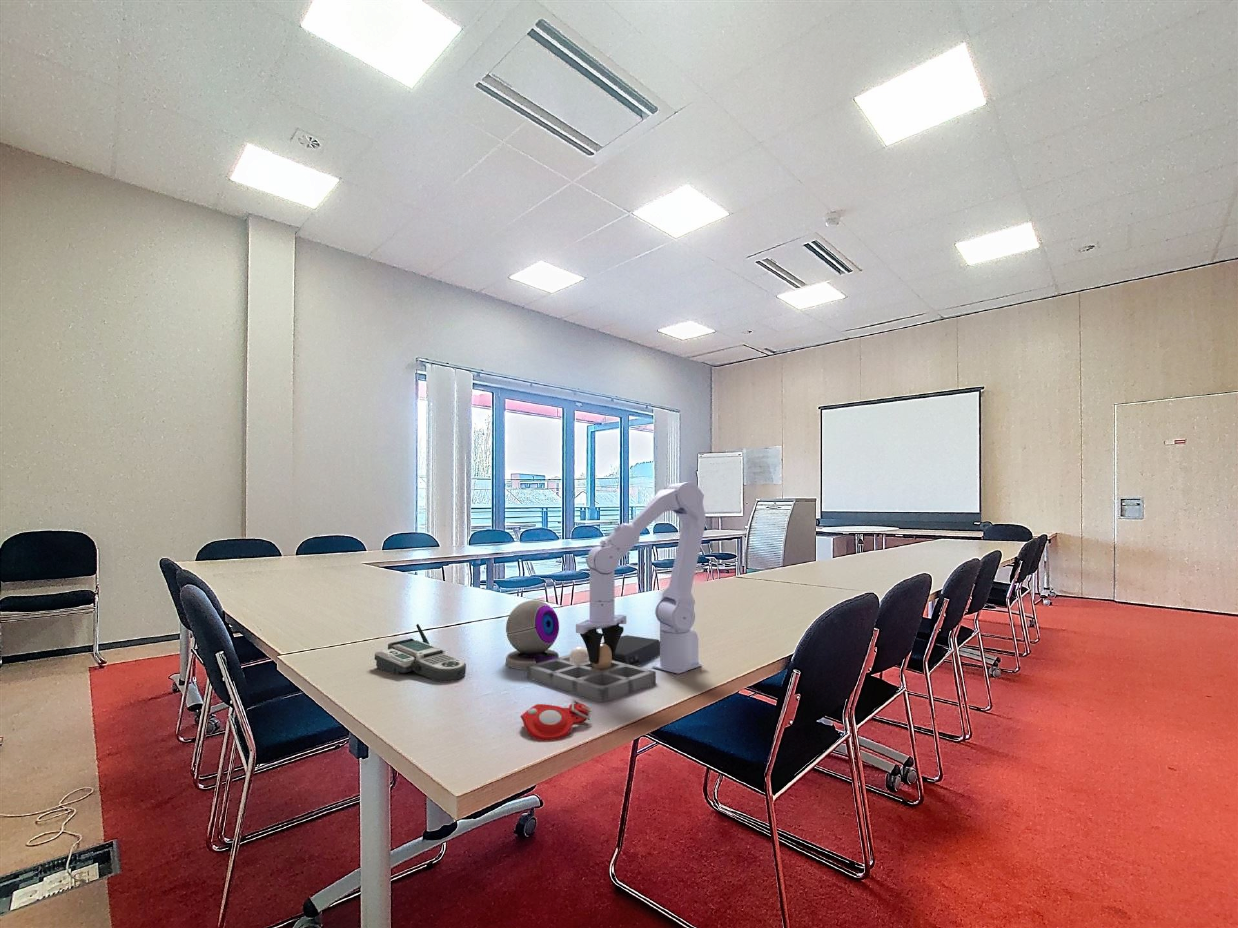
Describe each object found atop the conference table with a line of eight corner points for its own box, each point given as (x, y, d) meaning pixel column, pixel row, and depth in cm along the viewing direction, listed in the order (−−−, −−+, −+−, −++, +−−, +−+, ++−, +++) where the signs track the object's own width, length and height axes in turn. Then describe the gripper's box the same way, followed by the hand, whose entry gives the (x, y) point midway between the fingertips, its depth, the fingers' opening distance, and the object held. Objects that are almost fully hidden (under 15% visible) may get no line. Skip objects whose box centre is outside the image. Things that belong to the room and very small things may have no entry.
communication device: (433, 690, 123) (434, 648, 124) (371, 669, 137) (372, 631, 138) (477, 676, 133) (478, 637, 133) (415, 658, 147) (416, 622, 147)
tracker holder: (555, 740, 94) (509, 714, 99) (553, 763, 95) (508, 735, 100) (597, 701, 104) (554, 679, 109) (595, 722, 105) (552, 699, 110)
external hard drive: (583, 664, 142) (583, 647, 142) (623, 647, 158) (623, 632, 159) (630, 672, 135) (630, 654, 135) (666, 653, 152) (666, 638, 152)
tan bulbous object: (601, 664, 134) (602, 640, 134) (615, 667, 131) (615, 643, 131) (588, 668, 131) (588, 643, 131) (602, 672, 128) (602, 647, 128)
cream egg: (579, 666, 139) (579, 643, 139) (592, 669, 136) (592, 646, 136) (565, 670, 136) (566, 646, 136) (578, 674, 133) (578, 650, 133)
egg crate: (526, 677, 130) (526, 665, 130) (579, 662, 142) (580, 651, 142) (602, 702, 114) (602, 689, 114) (655, 683, 126) (655, 671, 126)
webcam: (536, 672, 134) (536, 607, 135) (494, 664, 140) (495, 602, 141) (568, 659, 145) (568, 598, 146) (528, 652, 151) (528, 594, 152)
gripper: (591, 606, 124) (591, 670, 123) (636, 597, 134) (636, 657, 134) (569, 602, 129) (569, 664, 128) (614, 594, 139) (614, 651, 138)
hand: (601, 660), depth 131 cm, fingers closed on tan bulbous object, 4 cm apart
